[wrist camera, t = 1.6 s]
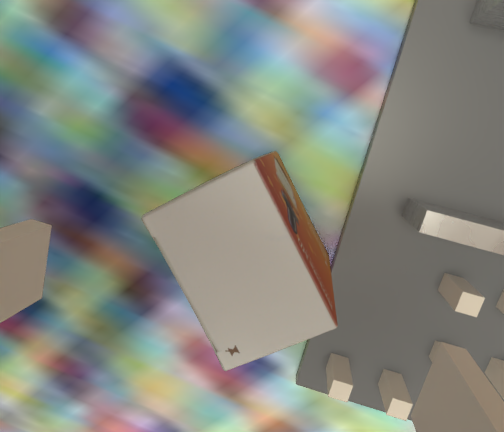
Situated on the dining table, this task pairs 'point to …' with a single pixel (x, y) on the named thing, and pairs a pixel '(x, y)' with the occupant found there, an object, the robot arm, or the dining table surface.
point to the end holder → (448, 220)
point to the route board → (406, 236)
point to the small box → (248, 261)
